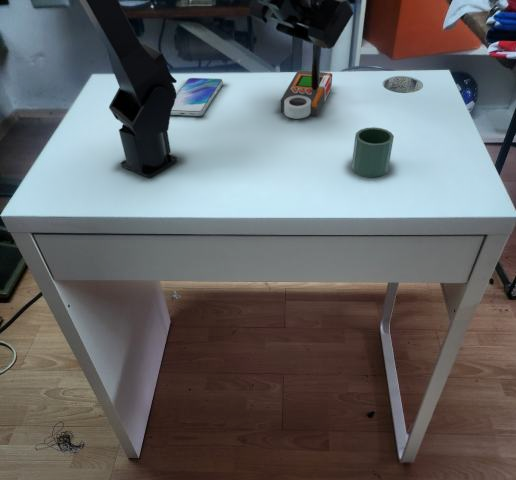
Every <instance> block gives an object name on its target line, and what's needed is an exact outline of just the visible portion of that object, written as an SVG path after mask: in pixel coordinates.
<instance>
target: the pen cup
mask: <svg viewBox="0 0 516 480" xmlns="http://www.w3.org/2000/svg"><path fill="white" fill-rule="evenodd" d="M394 138H395V136H394V134H393V133H392V132H391V131H389V130H388V129H385V128H381V127H375V126H374V127H364V128H361V129H359V130H357V132H356V133H355V136H354V144H353V151H352V160H351V170H352V171H353V172H354V173H355V174H356V175H358V176H361V177H365V178H379V177H382V176H384V175H385V174H387V173H388V171H389V167H390V166H389V165H390V162H391V161H390V160H391V156H392V149H393V144H394Z"/></svg>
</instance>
